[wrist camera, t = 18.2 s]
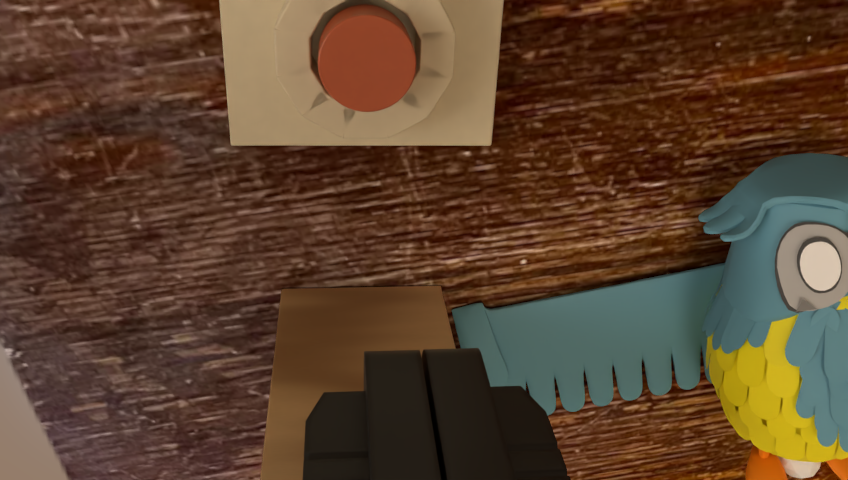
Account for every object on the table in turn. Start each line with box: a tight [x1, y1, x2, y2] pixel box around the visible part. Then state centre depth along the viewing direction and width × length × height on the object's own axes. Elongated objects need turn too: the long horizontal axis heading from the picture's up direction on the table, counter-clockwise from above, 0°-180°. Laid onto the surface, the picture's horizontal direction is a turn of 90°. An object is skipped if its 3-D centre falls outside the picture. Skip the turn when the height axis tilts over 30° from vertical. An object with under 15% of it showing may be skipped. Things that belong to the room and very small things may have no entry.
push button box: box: [219, 0, 504, 146], centre depth 28 cm, size 10×8×3 cm
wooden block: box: [260, 286, 456, 480], centre depth 29 cm, size 7×7×15 cm
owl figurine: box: [452, 153, 848, 480], centre depth 32 cm, size 28×9×15 cm
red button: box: [318, 4, 416, 112], centre depth 26 cm, size 3×3×2 cm
